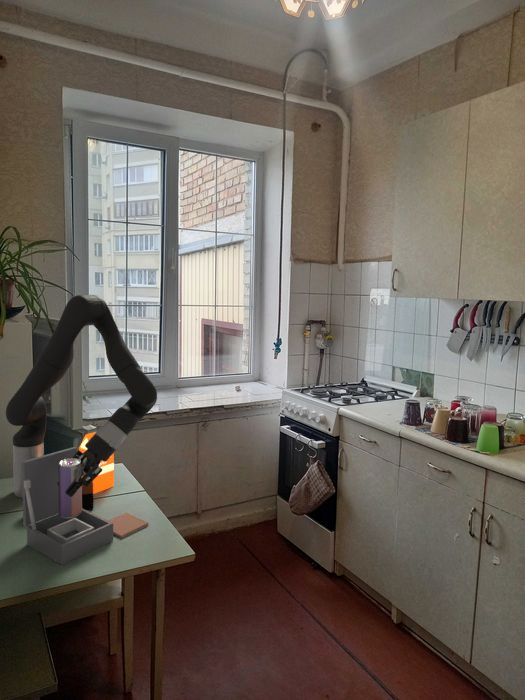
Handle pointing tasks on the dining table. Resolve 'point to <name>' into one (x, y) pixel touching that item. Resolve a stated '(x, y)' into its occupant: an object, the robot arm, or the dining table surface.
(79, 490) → the beverage can
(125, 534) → the mat
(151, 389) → the robot arm
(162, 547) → the dining table surface
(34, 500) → the equipment case
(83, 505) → the battery
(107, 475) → the orange juice
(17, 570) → the dining table surface
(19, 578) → the dining table surface
